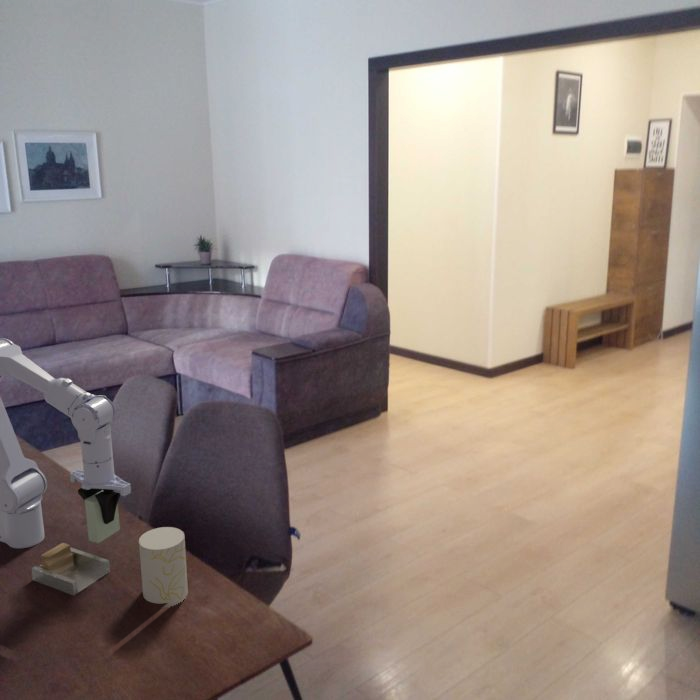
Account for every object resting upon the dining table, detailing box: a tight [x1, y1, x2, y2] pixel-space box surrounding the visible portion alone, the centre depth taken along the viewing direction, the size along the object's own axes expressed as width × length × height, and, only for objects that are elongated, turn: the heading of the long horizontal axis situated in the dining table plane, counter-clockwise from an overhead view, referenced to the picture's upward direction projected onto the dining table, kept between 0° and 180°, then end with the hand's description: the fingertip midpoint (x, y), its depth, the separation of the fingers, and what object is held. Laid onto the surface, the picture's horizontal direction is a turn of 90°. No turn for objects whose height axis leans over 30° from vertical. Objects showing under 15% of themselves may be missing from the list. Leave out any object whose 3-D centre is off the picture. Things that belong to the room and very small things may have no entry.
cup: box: [138, 526, 189, 609], centre depth 131 cm, size 8×8×12 cm
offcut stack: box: [38, 542, 74, 574], centre depth 138 cm, size 2×6×4 cm, turn 153°
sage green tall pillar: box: [84, 490, 121, 544], centre depth 142 cm, size 2×6×9 cm, turn 153°
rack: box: [30, 546, 111, 596], centre depth 137 cm, size 11×9×4 cm
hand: (103, 520), depth 143 cm, fingers closed on sage green tall pillar, 2 cm apart
